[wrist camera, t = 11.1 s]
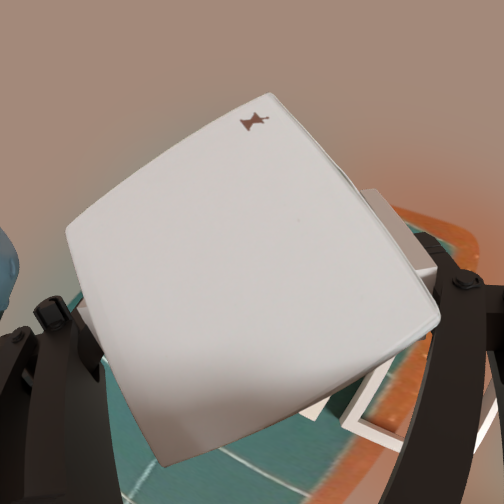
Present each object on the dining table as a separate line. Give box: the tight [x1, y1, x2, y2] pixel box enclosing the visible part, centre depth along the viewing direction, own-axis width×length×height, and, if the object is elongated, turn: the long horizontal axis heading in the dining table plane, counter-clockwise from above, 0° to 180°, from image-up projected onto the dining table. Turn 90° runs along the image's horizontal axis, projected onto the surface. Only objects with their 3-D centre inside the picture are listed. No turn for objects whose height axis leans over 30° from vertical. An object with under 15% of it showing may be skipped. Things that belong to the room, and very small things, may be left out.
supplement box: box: [65, 93, 441, 468], centre depth 13 cm, size 7×7×13 cm
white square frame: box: [339, 356, 498, 453], centre depth 23 cm, size 14×14×2 cm
